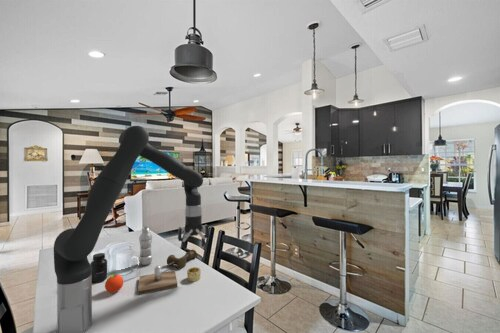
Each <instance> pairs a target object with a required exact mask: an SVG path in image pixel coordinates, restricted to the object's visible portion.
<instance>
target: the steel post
mask: <svg viewBox="0 0 500 333" xmlns="http://www.w3.org/2000/svg"><path fill="white" fill-rule="evenodd" d="M161 273H162V267H161V265H156V266H155V267H154V272H153V274H154V275H155V281H160V280H161V279H162V278H161Z"/></svg>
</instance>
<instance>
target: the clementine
mask: <svg viewBox="0 0 500 333" xmlns="http://www.w3.org/2000/svg"><path fill="white" fill-rule="evenodd" d="M106 279H107V280H106ZM106 279H105V280H104V281H105V284H104V289H105V290H106V291H107V292H108V293H111V294H112V293H116V292H118V291H120V290H121V289H122V287H123V285H124V278H123V276H121V275H120V274H111V275H107V278H106Z"/></svg>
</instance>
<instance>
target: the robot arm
mask: <svg viewBox="0 0 500 333" xmlns="http://www.w3.org/2000/svg"><path fill="white" fill-rule="evenodd" d="M149 139H150V138H149V132H148V131H147V129H146V128H145V127H143V126H141V125H132V126H129V127H128V128H126V129H125V130H123V131H122V132H121V133H120V135H119V139H118V140H119V144H120V145H119V146H118V149H117V150H116V152H115V154H114V155H113V156H112V157H111V158H110V160H109V161H108V162H107V163H106V164H105V166H103V168H102V169H101V171H100V172H99V173H98V175H97V176H96V178H95V180H94V182H93V183H92V185H91V187H90V189H89V191H88V195H87V199H86V204H85V205H86V206H85V208H84V209H85V210H84V213H83V215H82V217H81V219H80V220H79V221H78V224H77V225H76V227H75V228H74V227H72V228H68V229H65V230H63V231H61V232H60V233H59V234H58V235H57V236H56V238H55V240H54V243H53V268H54V273H55V276H56V295H57V296H56V297H57V299H56V307H57V309H56V310H57V311H56V313H57V314H56V316H57V319H56V320H57V323H56V324H57V333H85V332H86V331H88V329H90V328H91V327H92V324H93V302H92V301H93V293H92V292H93V291H92V290H93V288H92V287H93V283H92V269H91V265H90V263H91V262H90V261H89V258H88V256H89V255H90V254H91V253H92V252H93V251H94V249H95V247H96V245H97V242H98V239H99V237H100V234H101V232H102V230H103V227H104V224H105V223H106V221H107V218H108V216H109V215H110V213H111V211H112V209H113V207H114V205H115V204H116V201H117V200H118V198H119V196H120V194H121V193H122V190H123V188H124V186H125V185H126V183H127V181H128V179H129V176H130V174H131V172H132V171H133V170H132V169H133V167H134V165H135V163H136V161H137V159H138V158H139V156H140V157H142V158H144V159H146V160H147V161H149V162H151V163H153V164H154V165H156V166H158V167H160V168H161V169H163V170H164V171H166V173H168V174H170V175H172V176H173V177H175V178H177V179H180V180H182V181H183V183H182V184H183V189H184V194H185V213H184V214H185V224H184V225H185V226H184V227H181V226H179V227H178V232H177V240H178V241H179V242H181V247H182V249H183V250H186V248H187V246H186V244H187V243H186V241H187V240H188V238H189V237H194V236H195V237H196V236H200V237H201V241H200V242H201V248H204V247H205V245H206V239H207V238H209V236H210V235H209V234H210V233H209V231H210V230H209V225H208V224H204V225H203V224H202V219H203V218H202V216H203V215H202V196H201V193H200V192H199V190H198V188H200V187H201V186H203V183H204V178H203V176H202V175H201V174H200V173H199V172H198V171H196V170H194V169H193V168H191V167H188V166H187V165H185V164H184V163H183V162H182V161H180V159H177V158H176V157H175V156H173V155H171V154H168V153H166V152H164V151H161V150H159V149H157V148H155V147H154V146H153V145H151V144H150V143H149ZM202 230H204V233H205V234H203V233H202ZM184 231H185V234H184V235H183V237H182V233H183V232H184Z"/></svg>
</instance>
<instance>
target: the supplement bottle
mask: <svg viewBox="0 0 500 333" xmlns="http://www.w3.org/2000/svg"><path fill="white" fill-rule="evenodd" d="M89 263H90V265H91V269H92V284H98V283H101V282H104V281H106V280H105V279H108V260H107V258H106V254H105V253H104V252H97V253H95V254H93V256H92V261H90V262H89Z"/></svg>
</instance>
